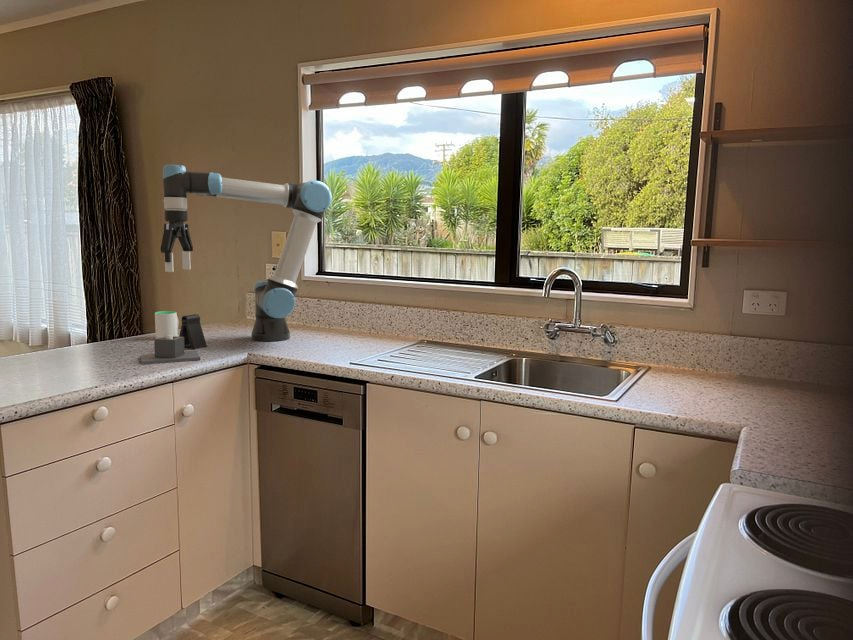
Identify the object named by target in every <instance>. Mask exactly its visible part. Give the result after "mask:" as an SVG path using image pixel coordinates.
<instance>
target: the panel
mask: <svg viewBox="0 0 853 640" xmlns="http://www.w3.org/2000/svg"><path fill="white" fill-rule="evenodd" d="M166 339H173V335H166ZM184 352H185V354H183V355H181V356H179V357H176V358H167V357H155V352H154V353H143V354H142V353H140V354H139V355H140V356H139V358H140V362H141V365H150V364H151V365H153V364H165V363H179V362H191V361H192V362H193V361H194V362H195V361H201V356H200V355H199V353H198V352H197V350H190V351H189V350H186V351H185V350H184Z"/></svg>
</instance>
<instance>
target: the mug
mask: <svg viewBox="0 0 853 640" xmlns="http://www.w3.org/2000/svg"><path fill="white" fill-rule="evenodd" d="M177 313H178V312H177V311H173V310H164V311H163V310H162V311H156V312H154V322H155V323H154V326H155V327H154V328H155V339H156V338H159V337H160V336H161V337H162V336H166V335H173V336H178V337H179V333H178V329H179V328H178V327H179V324H180V323H179V317H178V314H177Z"/></svg>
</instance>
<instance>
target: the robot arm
mask: <svg viewBox="0 0 853 640" xmlns="http://www.w3.org/2000/svg"><path fill="white" fill-rule="evenodd" d="M162 184H163V185H162V186H163V201H162V202H163V205H164V206H163V207H164V209H165V211H164V212H163V213H164V221H166V222H168V223H164V224H163V233H162V240H161V245H160V253H163V254H164V257H163V258H164V272H165V273H174V272H175V271H174V270H175V269H174V252H172V251H173V248H174V246H175V243H176V240H177V239H178V242H179V243H180V246H181V248H182V251H181V256H182V257H181V259H182V261H181V262H182V270H191V269H192V268H191V267H192V266H191V264H192V263H191V252H193V251H194V246H193V245H194V244H193V242H192V237H191V234H190V229H189V224H188V223H184V222H188V219H189V218H188V211H187V209H188V194H195V195H197V196H200V197H211V198H212V197H213V198H214V197H215V198H223V199H230V200H231V199H233V200H241V201H248V202H255V203H256V202H258V203H265V204H273V205H274V204H276V205H282V207H283V208H287V209H291V210H292V213H293V216H294V217H293V220H292V222H291V225H290V227H289V231H288V232H287V237H286V240H285V243H284V245H283V247H282V250H281V253H280V257H279V259H278V262H277V265H276V268H275V271H274V273H273V275H271V276H269V277H268V279H267V281H265V280H262V281H257V282H256V283H255V284H254V300H255V301H254V303H255V305H254V307H255V308H254V309H255V320H254V324H253V327H252V329H251V340H254V341H260V342H277V341H285V340H288V339H290V338H291V332H290V328H289V326H288V323H287V319H286V317H288V316H290V314H292V313H293V311H294V310H295V307H296V295H297V292H298V289H299V287H298V284H297V280H298V277H299V274H300V271H301V268H302V266H303V264H304V263H303V262H304V259H305V257H306V254H307V252H308V248H309V245H310V242H311V239H312V237H313V234H314V231H315V228H316V225H317V224H318V223H319V222H322V220H323V217H324V214H325V212H326V211H327V210H328V208H329V207H330V206H331V203H332V199H333V198H332V197H333V196H332V192H331V190H330V187H328V185H327V184H325V183H324V182H322V181H320V180H312V179H311V180H307V181H305V182H300V183H290V182H286V183H284V184H276V183H269V182H262V181H254V180H245V179H237V178H230V177H228V178H227V177H223V176H222V175H221V174H220V173H218V172H212V171H211V172H205V171H204V172H201V171H199V172H198V171H187V169H186V166H185V165H182V164H181V165H180V164H164V166H163V167H162Z"/></svg>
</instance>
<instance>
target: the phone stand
mask: <svg viewBox="0 0 853 640" xmlns="http://www.w3.org/2000/svg"><path fill="white" fill-rule="evenodd" d="M178 337H184V349H188V350H192V351H195V350H197V349H202V348H207V347H208V344H207V342H206V338H205V335H204V332H203V327H202V324H201V317H200V315H199V314H196V313H195V314H188V315H183V316H182V317H181V327H180V331H179V334H178Z"/></svg>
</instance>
